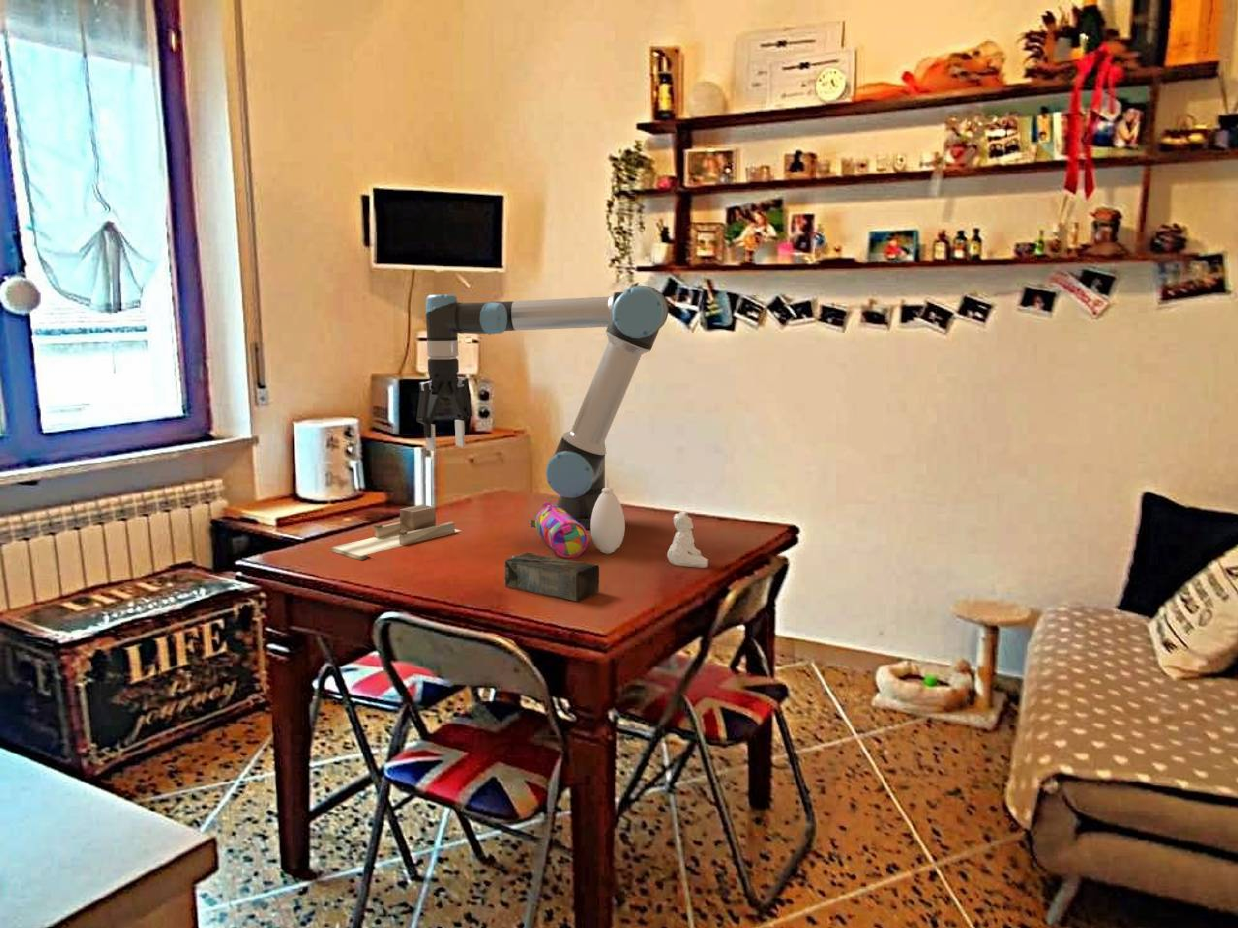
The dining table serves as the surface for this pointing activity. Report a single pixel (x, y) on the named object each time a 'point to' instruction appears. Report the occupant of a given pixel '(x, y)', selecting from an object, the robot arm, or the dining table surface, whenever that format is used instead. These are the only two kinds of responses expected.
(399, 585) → the dining table surface
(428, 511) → the walnut block
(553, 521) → the pencil case
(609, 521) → the sauce bottle
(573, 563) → the dark grey block
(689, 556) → the white creature statuette
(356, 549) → the railed wooden board
